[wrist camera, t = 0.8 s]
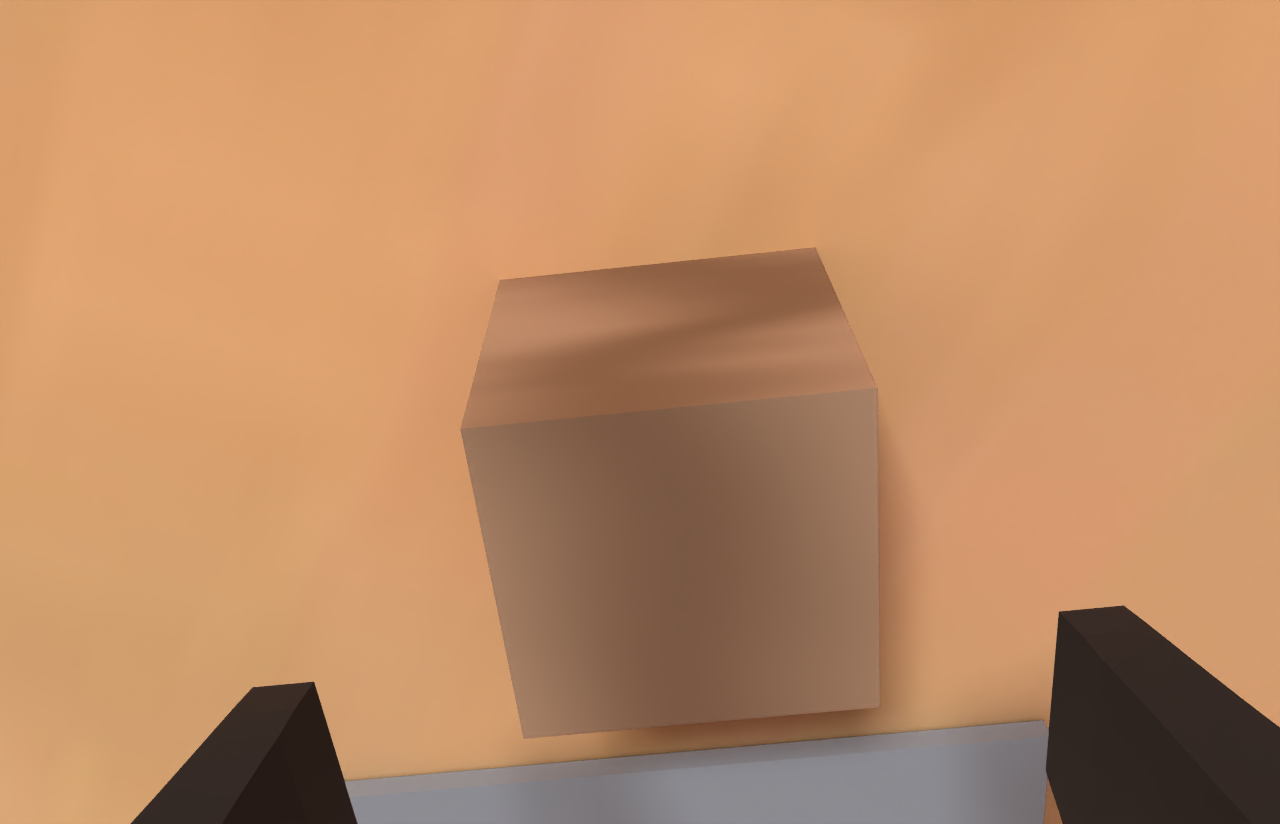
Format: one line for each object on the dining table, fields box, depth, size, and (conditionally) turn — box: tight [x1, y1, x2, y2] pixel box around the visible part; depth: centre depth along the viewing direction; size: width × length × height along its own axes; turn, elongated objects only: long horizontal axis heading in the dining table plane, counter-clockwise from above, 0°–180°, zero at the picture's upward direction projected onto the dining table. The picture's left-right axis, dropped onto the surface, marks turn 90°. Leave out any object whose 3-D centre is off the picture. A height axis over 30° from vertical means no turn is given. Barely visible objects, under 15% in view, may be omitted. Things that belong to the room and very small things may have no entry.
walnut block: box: [461, 248, 880, 739], centre depth 15 cm, size 4×4×4 cm
